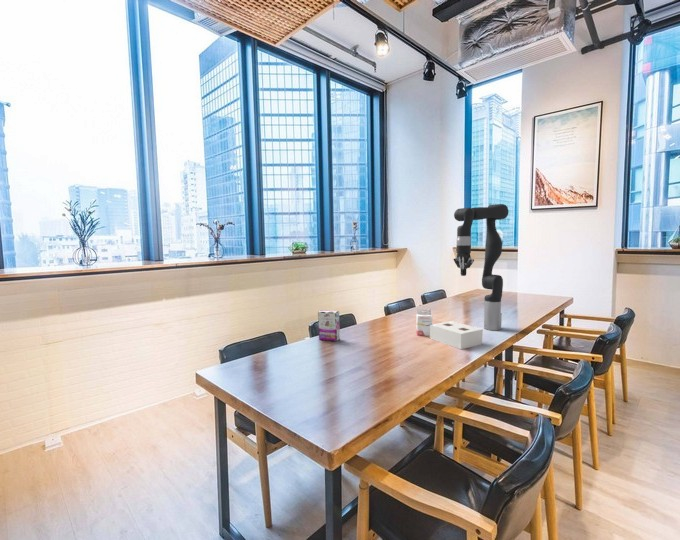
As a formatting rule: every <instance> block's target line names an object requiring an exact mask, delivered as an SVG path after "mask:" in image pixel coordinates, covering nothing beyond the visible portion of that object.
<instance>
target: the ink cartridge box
mask: <svg viewBox="0 0 680 540" xmlns="http://www.w3.org/2000/svg"><path fill="white" fill-rule="evenodd" d="M415 321H416V323H415V325H416V330H415V331H416V332H415V333H416V336H420V337H421V336H423V337H424V336H427V337H430V325H432V324H433V315H432V310H431V308H422V309H421V308H416V320H415Z"/></svg>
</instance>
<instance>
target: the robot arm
mask: <svg viewBox="0 0 680 540" xmlns="http://www.w3.org/2000/svg"><path fill="white" fill-rule="evenodd" d="M508 216H509V207H508V206H507V205H506V204H504V203H499V204H498V203H497V204H489V205H488V206H486V207H485V206H482V207H479V206H478V207H463V208H457V209H456V210H454V213H453V217H454V219H455V220H456V221H457V222H463V223H462V224H461V225H459V226H458V227H457V229H456V257H455V258H453V262H454V264H455V265H456V267H457V268H459V269H460V276H461V277H465V276H467V269H470V268H471V266H472V265H473V264H474V262H475V259H473V258H472V256H471V252H472V238H471V237H472V235H471V234H472V229H471V228H472V227H473V222H474V221H479V220H485V221H486V223H485V224H486V235H485V246H484V247H485V248H484V249H485V250H484V263H483V264H484V265H483V271H482V278H481V286H482V288H483V289H484V290H485V289H486V290H490V291H491V290H492V291H491V293H490V294H486V295H484V308H483V309H484V311H483V312H484V314H483V316H484V317H483V329H484V330H489V331H499V330H501V329H502V318H503V317H502V315H503V314H502V311H501V310H502V297H503V289H504V288H503V287H504V279H503V277H502V276H501V275H500V274H493V268H494V266H495V264H496V262H497V261H498V260H499V258H500V256H501V255H502V251H503V240H502V238H501V236H500V234H499V232H498V230H497V228H496V221H497V220H498V221H499V220H500V221H502V220H505V219H507V218H508Z"/></svg>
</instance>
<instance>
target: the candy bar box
mask: <svg viewBox="0 0 680 540" xmlns="http://www.w3.org/2000/svg"><path fill="white" fill-rule="evenodd" d="M317 316H318V319H317V320H318V339H319V340H320V341H327V342H338V341H340V340H341V338H340V337H341V335H340V334H341V332H340V330H341V329H340V311H339V310H326V309H325V310H323V309H321V310H319V311H318V312H317Z"/></svg>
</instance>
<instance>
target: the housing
mask: <svg viewBox="0 0 680 540" xmlns="http://www.w3.org/2000/svg"><path fill="white" fill-rule="evenodd" d="M444 324H451V325H452V326H445V325H444ZM461 328H465V329H469V330H466V331H463V330H459V329H461ZM483 330H484V328H480V327H475V326H473V325H468V324H464V323H460V322H456V321H453V320H449V321H443V322H438V323H432V325H430V336H429V339H431V340H433V341H435V342H438V343H441V344H445V345H447V346H450V347H453V348H456V349H459V350H464V349H468V348H472V347H477V346H480V345H483V335H484V334H483V332H484V331H483Z"/></svg>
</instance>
